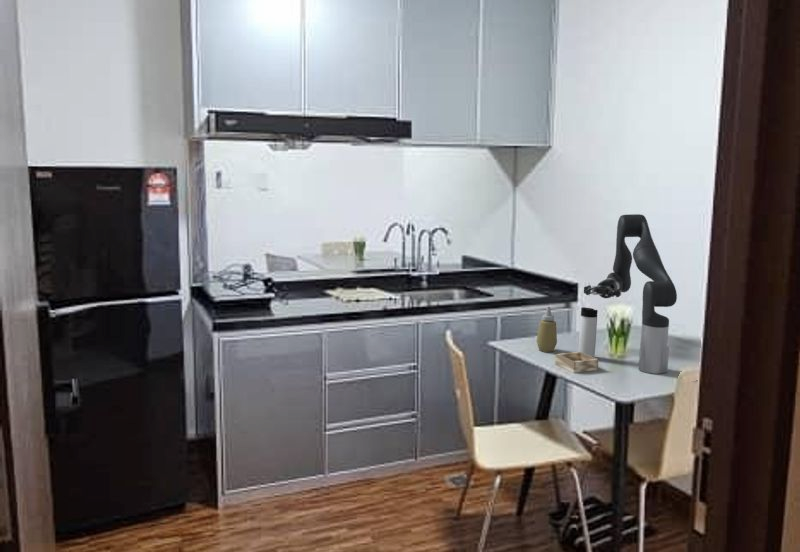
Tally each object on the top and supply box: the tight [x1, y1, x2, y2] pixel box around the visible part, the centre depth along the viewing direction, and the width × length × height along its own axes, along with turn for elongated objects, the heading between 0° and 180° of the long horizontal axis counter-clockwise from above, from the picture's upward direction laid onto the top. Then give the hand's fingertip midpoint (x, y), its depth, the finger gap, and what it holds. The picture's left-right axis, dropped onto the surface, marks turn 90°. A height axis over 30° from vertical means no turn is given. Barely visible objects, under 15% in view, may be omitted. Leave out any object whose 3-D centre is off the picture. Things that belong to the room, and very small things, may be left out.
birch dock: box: [554, 351, 599, 374], centre depth 256 cm, size 11×11×4 cm
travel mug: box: [577, 306, 599, 358], centre depth 268 cm, size 6×7×20 cm
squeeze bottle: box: [536, 306, 558, 353], centre depth 278 cm, size 8×8×18 cm
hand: (597, 293), depth 276 cm, fingers open, 8 cm apart
